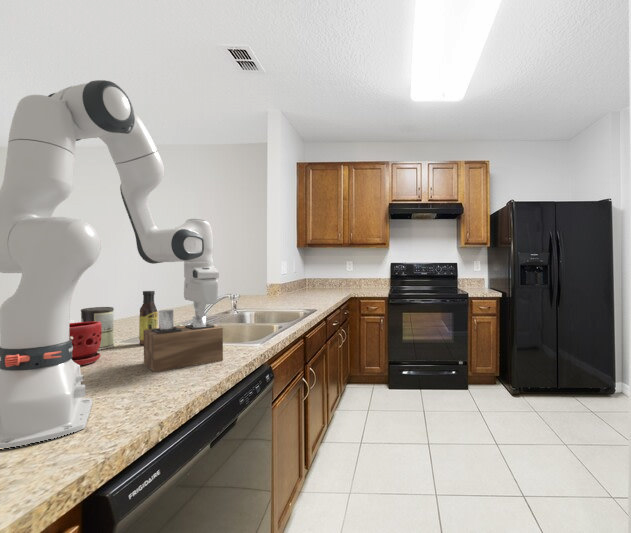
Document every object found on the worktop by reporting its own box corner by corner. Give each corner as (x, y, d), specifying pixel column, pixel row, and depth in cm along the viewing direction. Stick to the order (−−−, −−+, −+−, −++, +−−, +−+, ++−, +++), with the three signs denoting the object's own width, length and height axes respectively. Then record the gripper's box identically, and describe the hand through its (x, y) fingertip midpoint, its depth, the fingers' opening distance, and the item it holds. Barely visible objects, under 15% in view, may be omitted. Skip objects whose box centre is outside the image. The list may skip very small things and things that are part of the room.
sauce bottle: (150, 345, 138) (150, 291, 138) (135, 345, 139) (134, 291, 139) (161, 342, 144) (160, 290, 144) (146, 341, 146) (146, 290, 146)
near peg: (175, 344, 112) (175, 310, 112) (161, 346, 109) (160, 311, 109) (171, 341, 115) (171, 309, 115) (157, 343, 112) (157, 310, 112)
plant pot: (105, 356, 123) (105, 319, 123) (97, 366, 111) (96, 325, 111) (58, 360, 119) (57, 321, 119) (44, 371, 106) (44, 328, 106)
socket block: (222, 360, 116) (222, 326, 116) (154, 372, 104) (153, 334, 104) (208, 353, 126) (208, 321, 126) (143, 363, 114) (143, 328, 114)
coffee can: (77, 351, 130) (76, 310, 130) (85, 345, 140) (85, 307, 140) (110, 349, 133) (110, 309, 133) (116, 343, 143) (116, 306, 143)
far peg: (208, 348, 118) (208, 316, 118) (195, 350, 115) (195, 317, 115) (203, 346, 121) (203, 315, 121) (191, 348, 118) (190, 316, 118)
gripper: (178, 271, 124) (179, 313, 125) (200, 272, 108) (201, 321, 108) (197, 271, 128) (198, 312, 128) (221, 272, 112) (222, 319, 112)
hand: (199, 316), depth 118 cm, fingers closed, pressing on far peg
